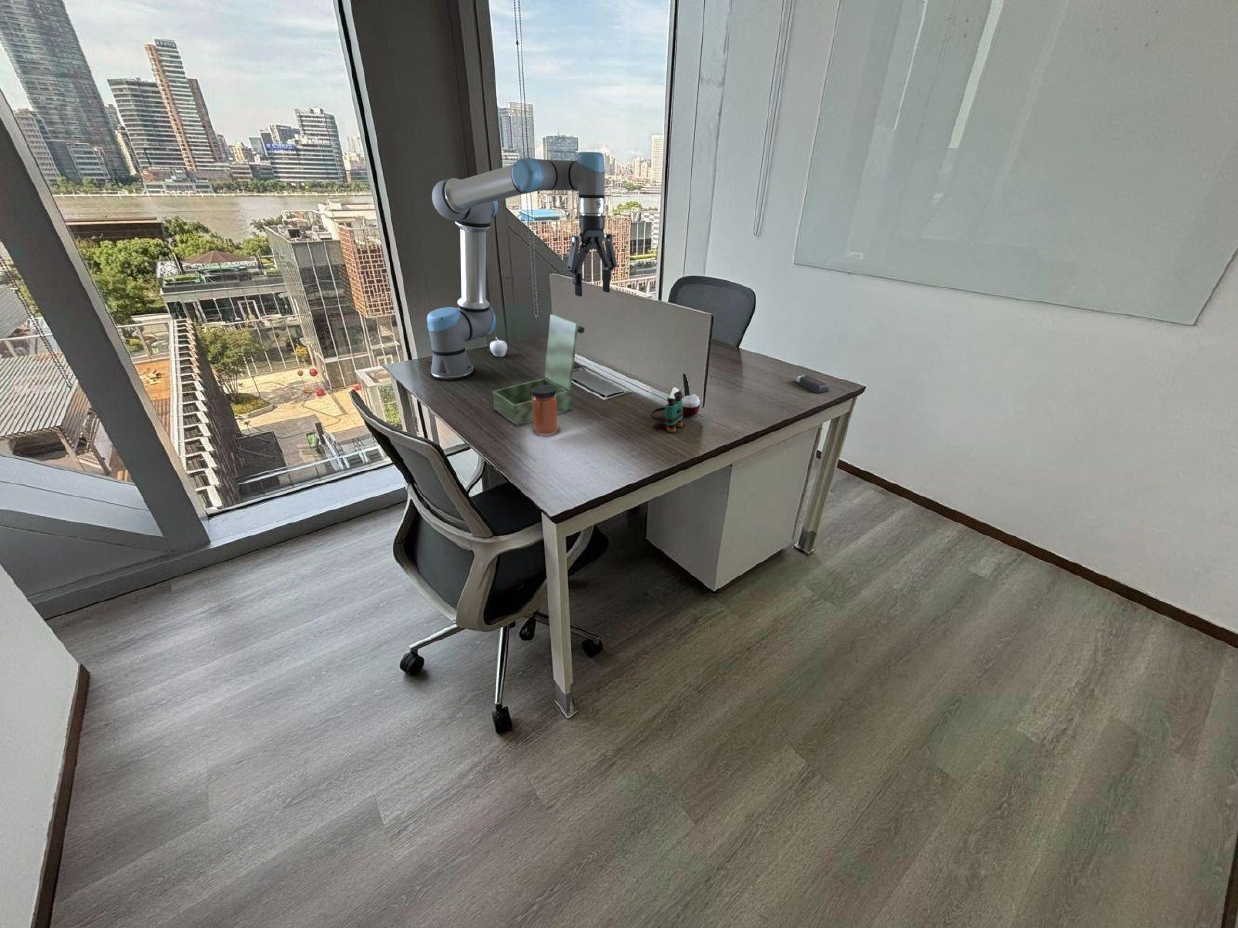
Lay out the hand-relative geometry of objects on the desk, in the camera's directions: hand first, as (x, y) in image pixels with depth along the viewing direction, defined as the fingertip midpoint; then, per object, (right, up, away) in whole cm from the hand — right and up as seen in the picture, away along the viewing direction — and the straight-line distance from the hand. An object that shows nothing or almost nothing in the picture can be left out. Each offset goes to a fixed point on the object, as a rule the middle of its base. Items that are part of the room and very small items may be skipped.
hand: (592, 293), depth 154 cm
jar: (-13, -44, -8) cm, 47 cm away
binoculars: (+23, -42, -4) cm, 48 cm away
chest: (-20, -37, +4) cm, 42 cm away
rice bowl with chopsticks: (+31, -38, +4) cm, 49 cm away
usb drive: (+79, -25, +27) cm, 87 cm away
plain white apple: (-42, -8, +51) cm, 67 cm away
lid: (-11, -18, +1) cm, 21 cm away
